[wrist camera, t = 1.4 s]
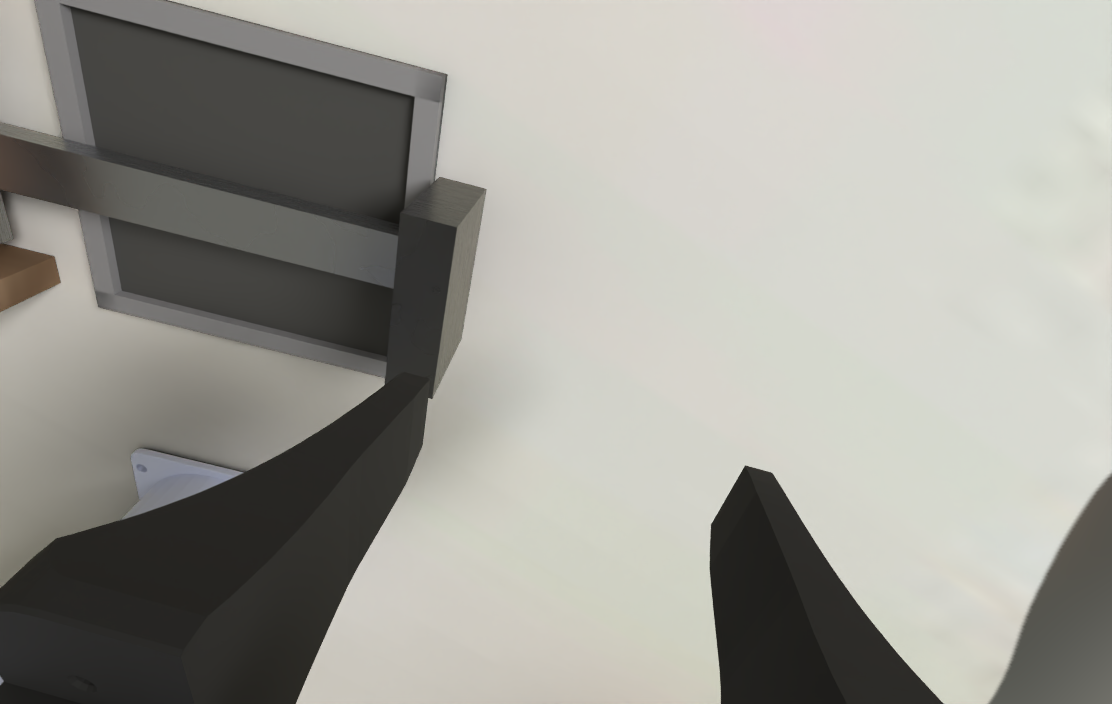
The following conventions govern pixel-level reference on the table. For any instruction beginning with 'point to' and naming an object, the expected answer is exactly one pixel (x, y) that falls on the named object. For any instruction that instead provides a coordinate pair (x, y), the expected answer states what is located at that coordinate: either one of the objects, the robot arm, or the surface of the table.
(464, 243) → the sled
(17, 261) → the tunnel
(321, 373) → the table surface
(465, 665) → the table surface
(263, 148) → the grey flat square panel
